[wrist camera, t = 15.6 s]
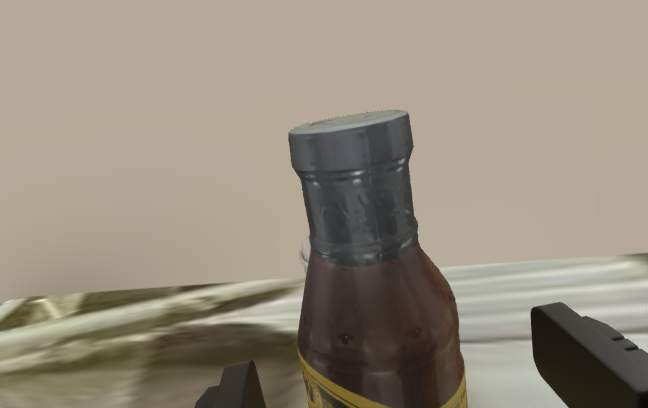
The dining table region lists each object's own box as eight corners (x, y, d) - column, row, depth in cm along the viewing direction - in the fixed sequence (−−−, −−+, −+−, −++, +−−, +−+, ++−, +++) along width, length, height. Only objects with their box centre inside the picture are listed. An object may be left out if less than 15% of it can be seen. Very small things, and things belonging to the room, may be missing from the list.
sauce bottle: (323, 523, 20) (231, 136, 16) (425, 466, 22) (371, 107, 18) (391, 685, 14) (275, 138, 10) (521, 587, 16) (480, 94, 12)
